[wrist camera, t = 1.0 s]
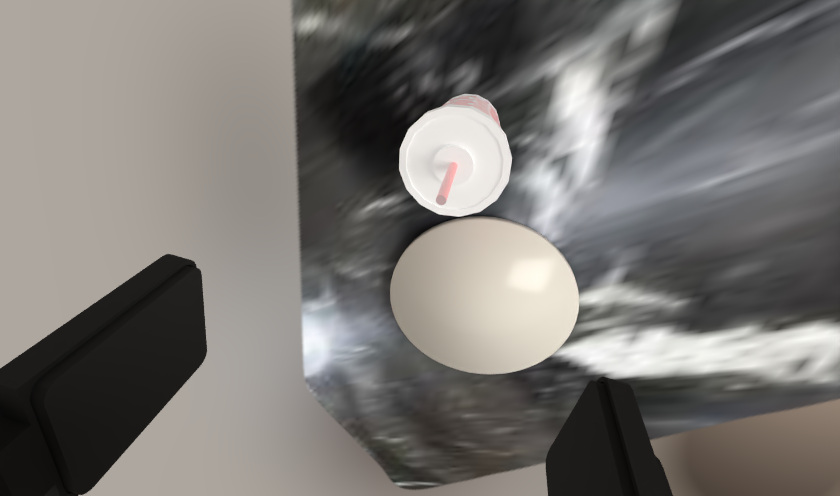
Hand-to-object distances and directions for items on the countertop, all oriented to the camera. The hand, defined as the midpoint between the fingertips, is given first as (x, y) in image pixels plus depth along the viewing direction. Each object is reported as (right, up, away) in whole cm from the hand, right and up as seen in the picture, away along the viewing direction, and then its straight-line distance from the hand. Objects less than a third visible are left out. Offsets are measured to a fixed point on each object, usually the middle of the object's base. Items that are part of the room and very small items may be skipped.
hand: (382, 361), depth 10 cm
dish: (+6, -2, +27) cm, 28 cm away
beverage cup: (+4, +11, +21) cm, 24 cm away
